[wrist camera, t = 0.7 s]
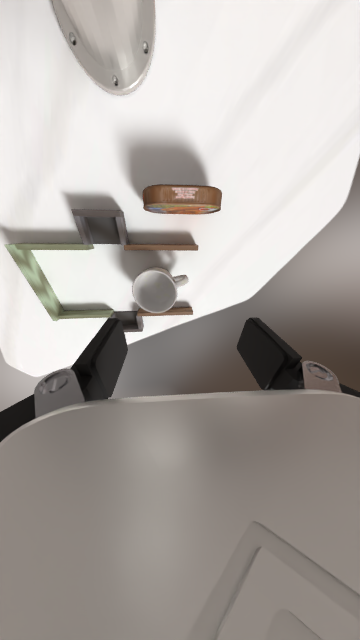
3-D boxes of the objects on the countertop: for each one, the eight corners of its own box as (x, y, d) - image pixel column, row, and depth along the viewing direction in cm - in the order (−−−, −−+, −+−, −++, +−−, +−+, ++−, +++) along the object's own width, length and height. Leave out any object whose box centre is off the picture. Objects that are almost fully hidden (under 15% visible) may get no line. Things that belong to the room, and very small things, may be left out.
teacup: (144, 303, 41) (140, 316, 35) (131, 267, 35) (124, 275, 29) (188, 294, 41) (192, 307, 34) (183, 257, 35) (187, 263, 28)
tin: (146, 213, 29) (140, 208, 22) (144, 193, 27) (137, 181, 20) (213, 214, 30) (226, 210, 23) (215, 196, 29) (230, 185, 22)
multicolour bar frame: (2, 209, 27) (-21, 206, 24) (198, 214, 30) (201, 212, 27) (71, 328, 44) (63, 336, 41) (190, 324, 47) (192, 331, 44)
